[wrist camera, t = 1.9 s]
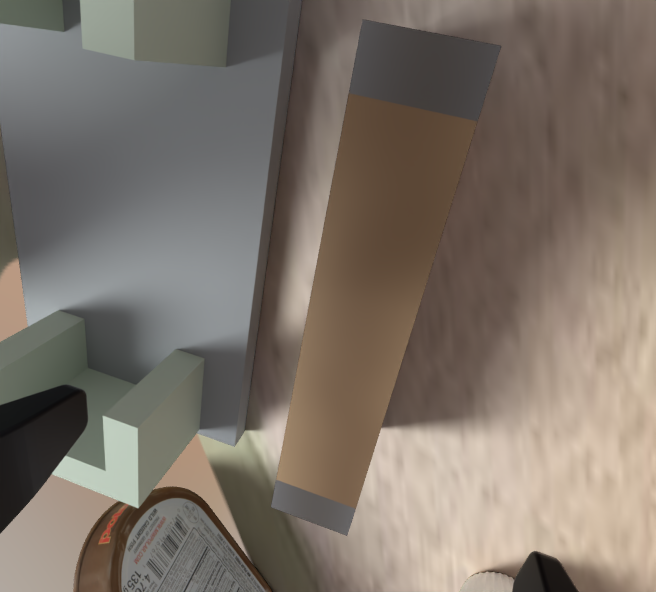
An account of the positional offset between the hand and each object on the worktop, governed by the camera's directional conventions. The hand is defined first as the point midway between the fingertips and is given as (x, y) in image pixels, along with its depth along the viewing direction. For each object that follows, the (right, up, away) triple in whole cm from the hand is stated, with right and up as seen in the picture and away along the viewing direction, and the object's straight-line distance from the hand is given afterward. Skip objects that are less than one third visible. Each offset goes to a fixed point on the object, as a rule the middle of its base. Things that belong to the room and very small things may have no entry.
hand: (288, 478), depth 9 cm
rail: (+3, +4, +10) cm, 11 cm away
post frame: (-7, +8, +12) cm, 16 cm away
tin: (-5, -12, +20) cm, 24 cm away
